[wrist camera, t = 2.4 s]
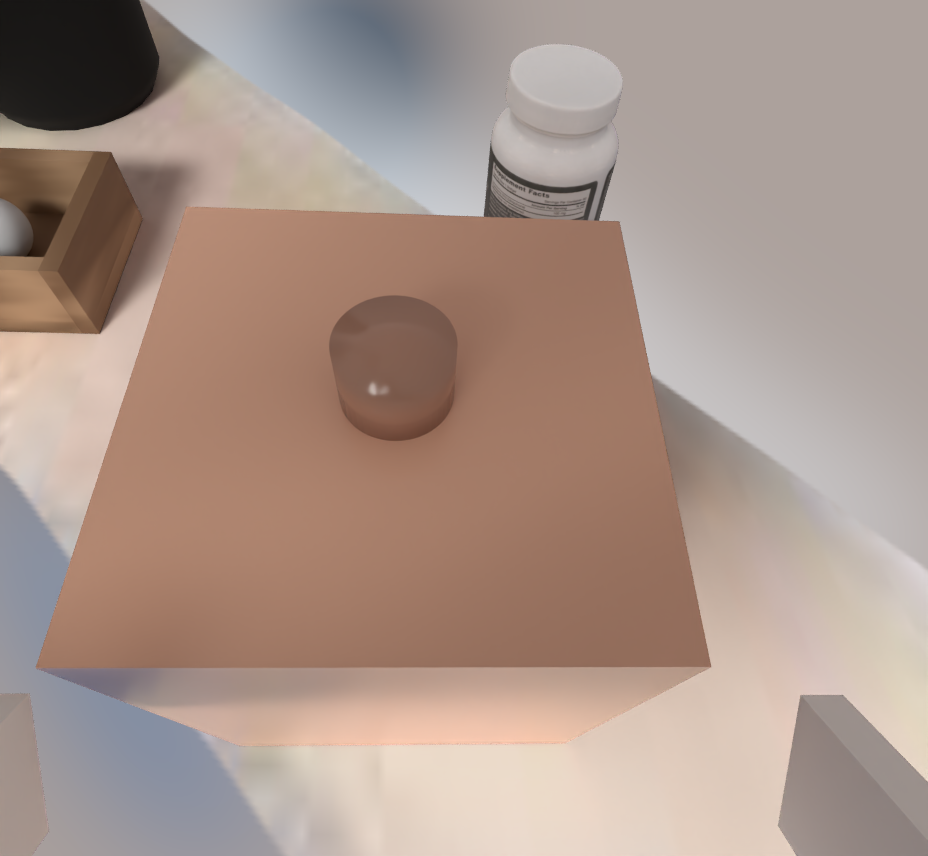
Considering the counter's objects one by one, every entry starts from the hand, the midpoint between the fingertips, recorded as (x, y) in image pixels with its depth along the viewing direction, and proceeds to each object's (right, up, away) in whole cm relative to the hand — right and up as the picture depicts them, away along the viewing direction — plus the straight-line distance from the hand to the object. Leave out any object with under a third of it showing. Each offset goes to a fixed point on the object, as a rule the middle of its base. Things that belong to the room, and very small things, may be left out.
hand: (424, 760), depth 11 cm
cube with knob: (-1, 0, +13) cm, 13 cm away
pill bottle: (+4, +15, +23) cm, 28 cm away
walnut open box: (-22, +14, +21) cm, 33 cm away
